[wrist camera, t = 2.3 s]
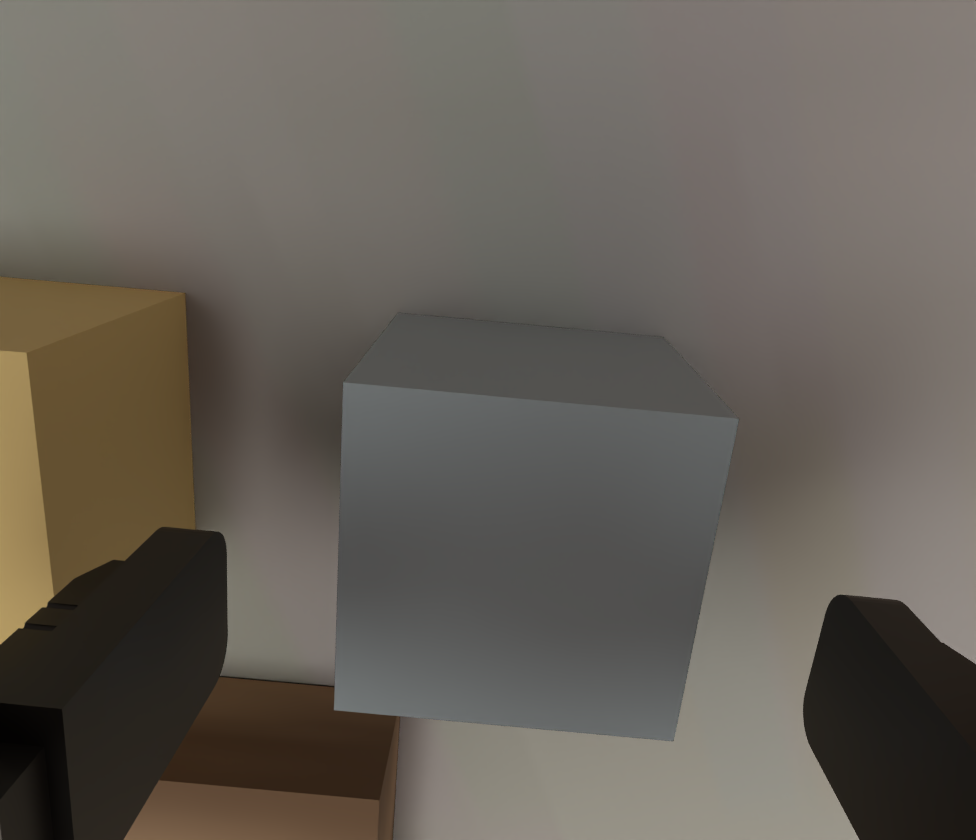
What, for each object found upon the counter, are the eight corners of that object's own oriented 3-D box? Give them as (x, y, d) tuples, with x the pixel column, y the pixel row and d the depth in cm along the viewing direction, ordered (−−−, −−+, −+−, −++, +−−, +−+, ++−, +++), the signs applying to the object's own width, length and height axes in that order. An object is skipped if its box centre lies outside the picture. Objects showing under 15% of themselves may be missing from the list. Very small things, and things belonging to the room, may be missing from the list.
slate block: (398, 311, 14) (343, 382, 9) (662, 336, 14) (739, 419, 9) (386, 548, 16) (334, 710, 11) (624, 569, 16) (674, 741, 11)
